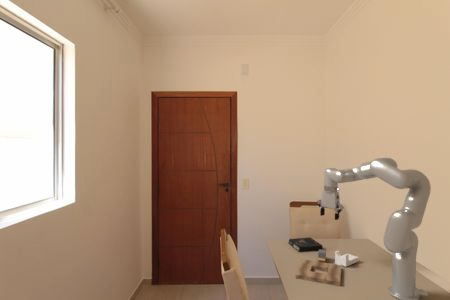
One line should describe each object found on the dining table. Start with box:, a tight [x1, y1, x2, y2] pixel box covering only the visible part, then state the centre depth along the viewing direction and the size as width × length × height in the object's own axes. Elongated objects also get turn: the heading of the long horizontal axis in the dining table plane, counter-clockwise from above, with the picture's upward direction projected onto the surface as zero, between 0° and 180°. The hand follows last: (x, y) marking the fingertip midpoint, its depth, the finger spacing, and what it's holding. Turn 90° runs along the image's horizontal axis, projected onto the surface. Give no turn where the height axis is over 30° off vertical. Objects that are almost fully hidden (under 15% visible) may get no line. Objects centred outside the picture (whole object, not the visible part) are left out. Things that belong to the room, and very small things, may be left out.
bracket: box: [334, 250, 359, 267], centre depth 173 cm, size 13×7×8 cm, turn 125°
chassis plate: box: [295, 258, 342, 287], centre depth 159 cm, size 22×22×2 cm
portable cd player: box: [288, 237, 323, 253], centre depth 199 cm, size 16×17×4 cm
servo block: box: [317, 249, 327, 263], centre depth 176 cm, size 4×10×6 cm, turn 157°
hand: (329, 217), depth 171 cm, fingers open, 9 cm apart
